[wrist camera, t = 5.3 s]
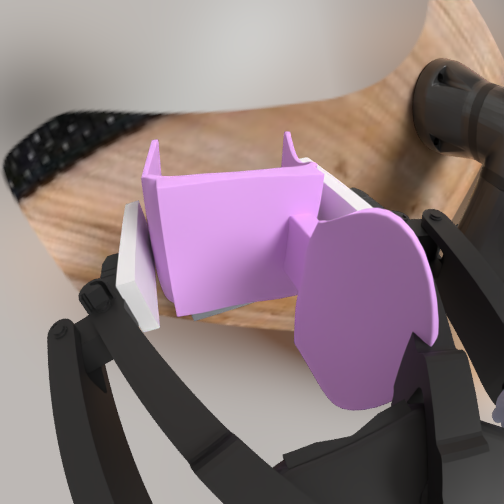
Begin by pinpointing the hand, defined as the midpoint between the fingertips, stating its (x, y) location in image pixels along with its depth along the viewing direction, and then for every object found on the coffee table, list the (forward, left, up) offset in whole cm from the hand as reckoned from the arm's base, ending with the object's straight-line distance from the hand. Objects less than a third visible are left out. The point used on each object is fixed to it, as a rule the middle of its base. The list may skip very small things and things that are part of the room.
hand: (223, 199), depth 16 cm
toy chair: (0, 0, -3) cm, 3 cm away
